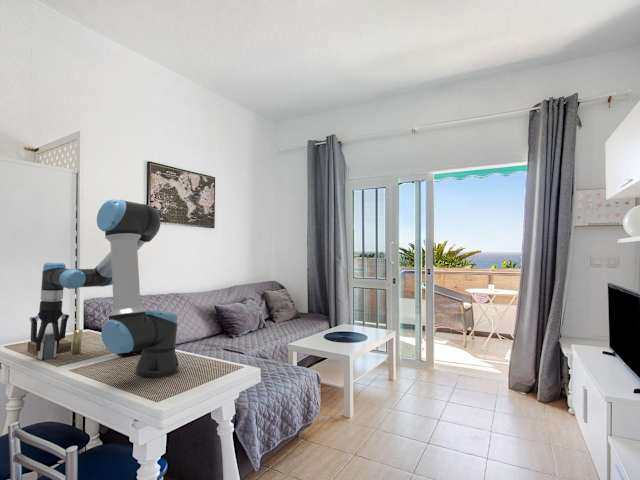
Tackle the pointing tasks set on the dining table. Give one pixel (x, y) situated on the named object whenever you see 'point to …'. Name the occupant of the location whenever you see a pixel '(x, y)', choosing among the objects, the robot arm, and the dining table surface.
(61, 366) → the dining table surface
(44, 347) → the square bit
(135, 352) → the end cap
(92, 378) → the dining table surface
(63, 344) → the socket board
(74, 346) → the round bit
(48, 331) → the white air blower
